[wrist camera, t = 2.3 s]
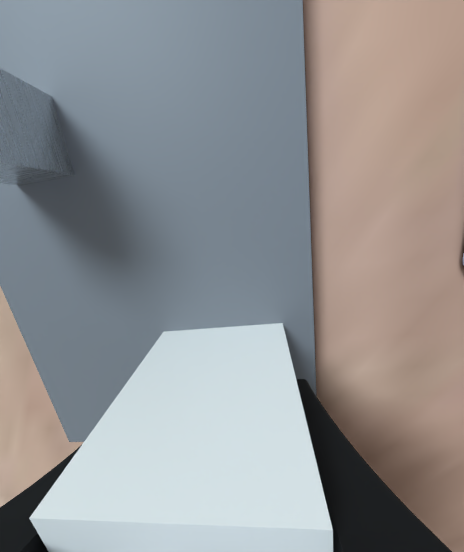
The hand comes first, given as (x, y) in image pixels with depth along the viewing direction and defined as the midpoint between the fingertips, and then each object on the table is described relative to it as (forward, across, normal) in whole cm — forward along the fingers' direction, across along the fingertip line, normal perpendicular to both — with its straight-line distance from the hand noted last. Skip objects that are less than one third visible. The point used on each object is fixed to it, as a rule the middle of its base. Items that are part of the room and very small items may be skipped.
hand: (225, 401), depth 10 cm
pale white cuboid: (+1, 0, 0) cm, 1 cm away
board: (+2, +3, -6) cm, 7 cm away
